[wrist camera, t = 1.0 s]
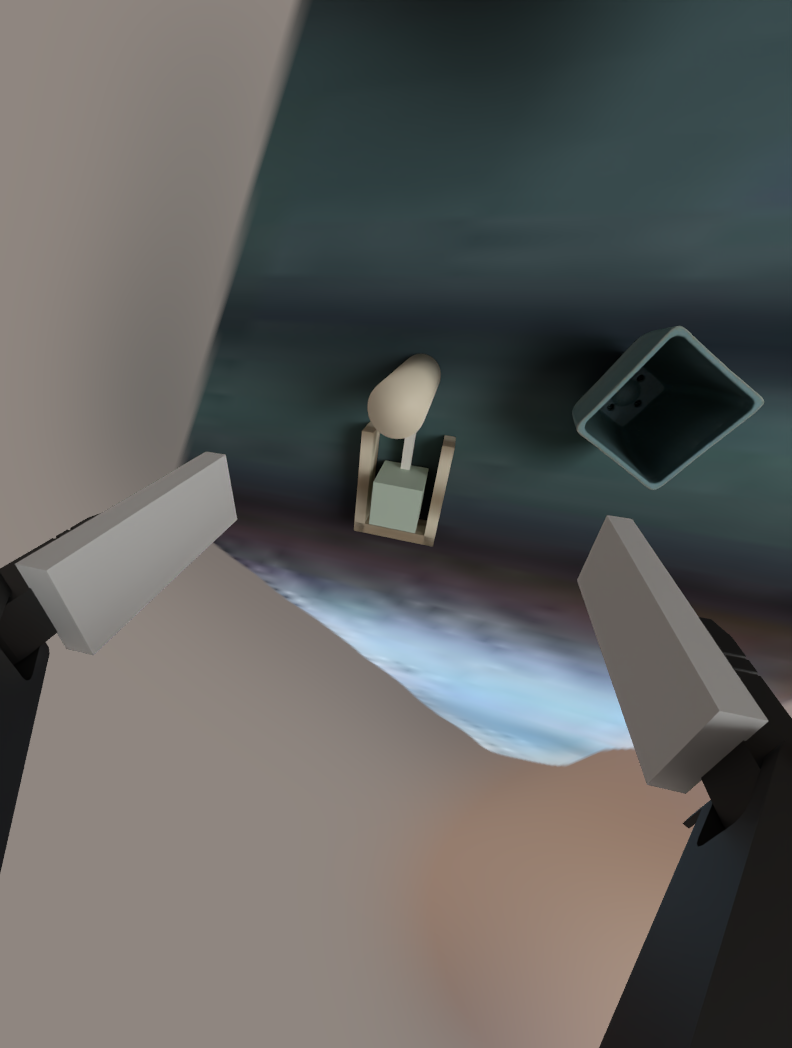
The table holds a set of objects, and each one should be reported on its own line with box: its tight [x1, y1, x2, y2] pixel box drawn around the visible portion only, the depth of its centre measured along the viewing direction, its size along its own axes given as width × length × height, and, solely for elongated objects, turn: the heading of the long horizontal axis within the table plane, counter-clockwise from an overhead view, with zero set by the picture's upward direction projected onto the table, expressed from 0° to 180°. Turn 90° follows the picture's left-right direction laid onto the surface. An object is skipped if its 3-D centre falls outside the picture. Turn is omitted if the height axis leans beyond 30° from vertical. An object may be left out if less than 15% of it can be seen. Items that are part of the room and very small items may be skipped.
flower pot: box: [572, 326, 764, 490], centre depth 31 cm, size 9×9×9 cm
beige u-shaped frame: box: [354, 422, 456, 546], centre depth 42 cm, size 12×9×4 cm
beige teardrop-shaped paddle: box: [368, 354, 441, 533], centre depth 34 cm, size 16×5×14 cm, turn 173°
